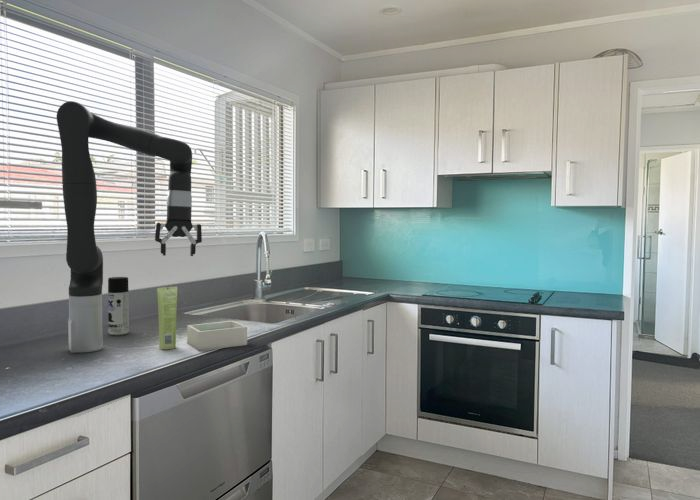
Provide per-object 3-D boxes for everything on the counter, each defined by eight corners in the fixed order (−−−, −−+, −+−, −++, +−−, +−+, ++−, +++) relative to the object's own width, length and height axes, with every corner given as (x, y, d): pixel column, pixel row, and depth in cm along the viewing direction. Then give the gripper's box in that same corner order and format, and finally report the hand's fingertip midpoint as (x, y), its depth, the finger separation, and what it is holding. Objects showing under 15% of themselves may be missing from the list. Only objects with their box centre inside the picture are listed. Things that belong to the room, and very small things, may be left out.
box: (199, 351, 165) (199, 332, 165) (187, 343, 175) (187, 325, 175) (247, 344, 174) (247, 326, 174) (233, 337, 184) (233, 320, 184)
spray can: (105, 333, 188) (104, 277, 187) (124, 330, 193) (123, 276, 192) (113, 336, 184) (112, 279, 182) (132, 333, 188) (131, 277, 187)
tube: (161, 345, 171) (161, 285, 170) (178, 345, 172) (177, 285, 171) (157, 350, 166) (156, 288, 164) (174, 349, 166) (173, 288, 165)
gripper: (156, 204, 164) (155, 256, 165) (203, 206, 170) (202, 256, 170) (155, 204, 171) (153, 254, 171) (200, 206, 176) (199, 255, 177)
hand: (178, 255), depth 171 cm, fingers open, 8 cm apart
